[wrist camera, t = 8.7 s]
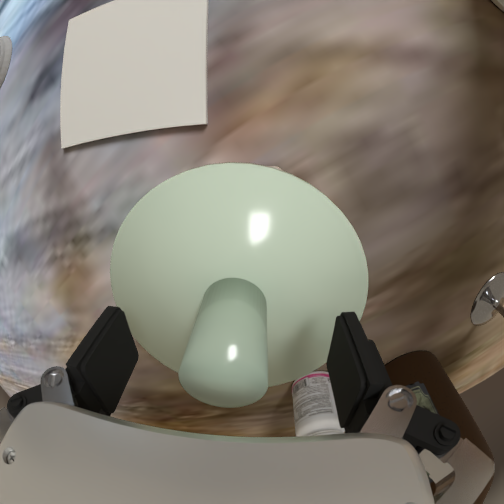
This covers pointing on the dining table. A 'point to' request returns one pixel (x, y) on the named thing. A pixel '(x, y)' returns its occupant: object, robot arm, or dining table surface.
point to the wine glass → (489, 301)
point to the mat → (134, 69)
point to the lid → (237, 278)
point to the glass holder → (4, 56)
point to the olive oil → (437, 399)
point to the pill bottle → (315, 406)
